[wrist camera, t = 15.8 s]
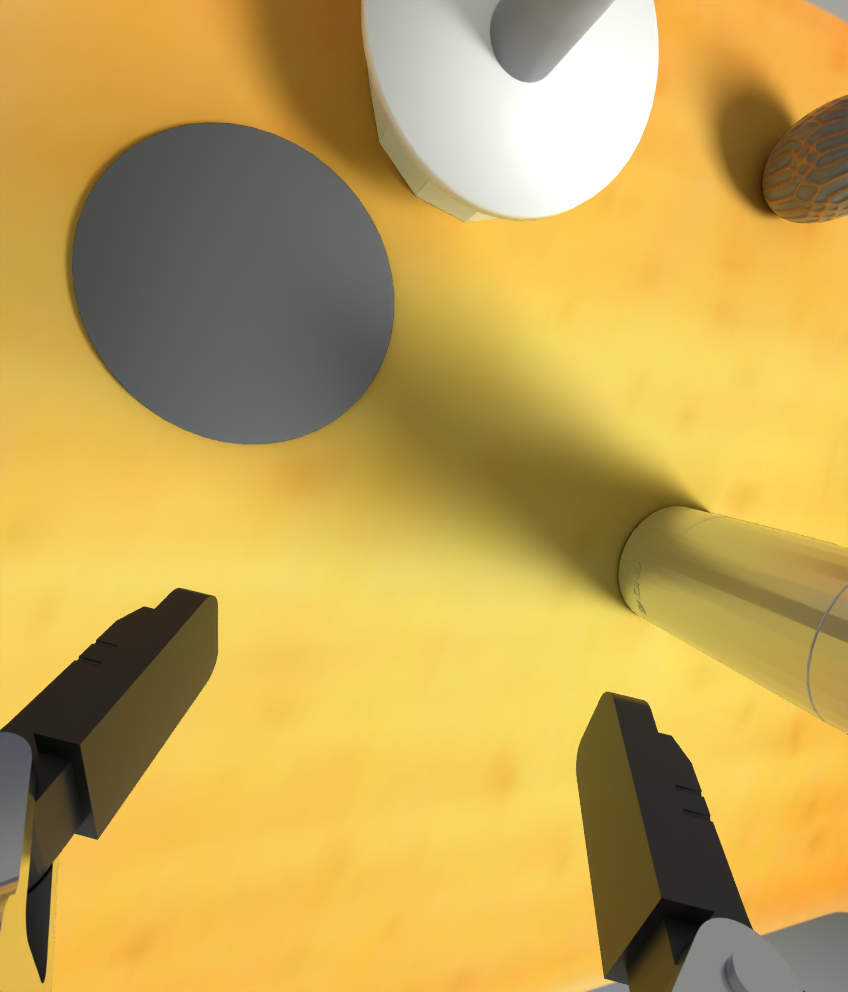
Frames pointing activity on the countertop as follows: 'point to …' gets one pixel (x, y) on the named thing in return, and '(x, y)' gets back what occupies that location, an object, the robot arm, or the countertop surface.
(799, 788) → the countertop surface
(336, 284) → the mat
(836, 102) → the vase
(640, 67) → the lid
